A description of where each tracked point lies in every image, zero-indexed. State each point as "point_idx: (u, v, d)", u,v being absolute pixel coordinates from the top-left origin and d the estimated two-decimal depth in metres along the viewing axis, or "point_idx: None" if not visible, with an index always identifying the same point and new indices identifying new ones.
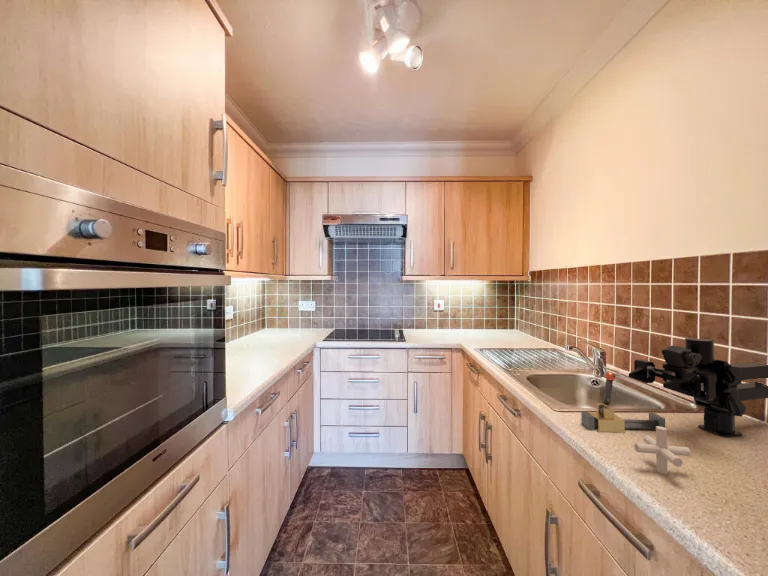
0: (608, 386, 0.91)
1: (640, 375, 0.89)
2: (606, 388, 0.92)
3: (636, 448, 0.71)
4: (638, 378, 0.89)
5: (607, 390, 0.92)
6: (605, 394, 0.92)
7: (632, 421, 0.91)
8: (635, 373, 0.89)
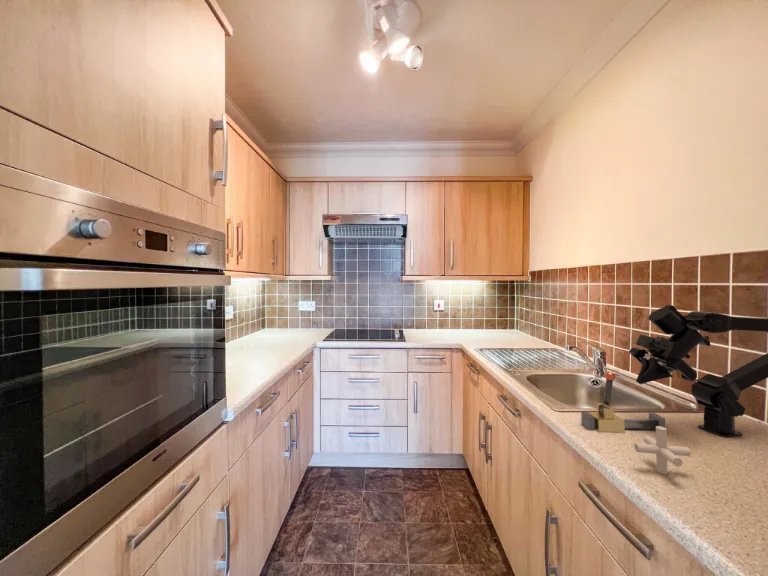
0: (608, 386, 0.91)
1: None
2: (606, 388, 0.92)
3: (636, 448, 0.71)
4: None
5: (607, 390, 0.92)
6: (605, 394, 0.92)
7: (632, 421, 0.91)
8: None
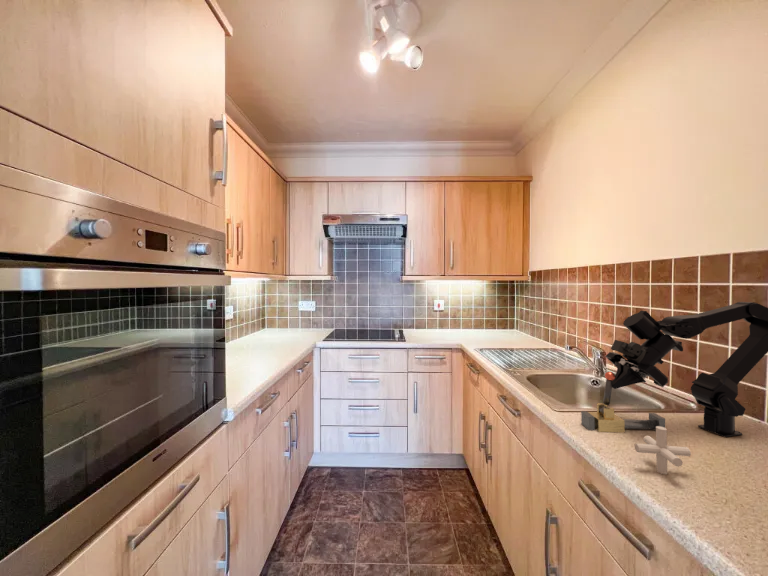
0: (608, 386, 0.91)
1: None
2: (606, 388, 0.92)
3: (636, 448, 0.71)
4: None
5: (607, 390, 0.92)
6: (605, 394, 0.92)
7: (632, 421, 0.91)
8: None
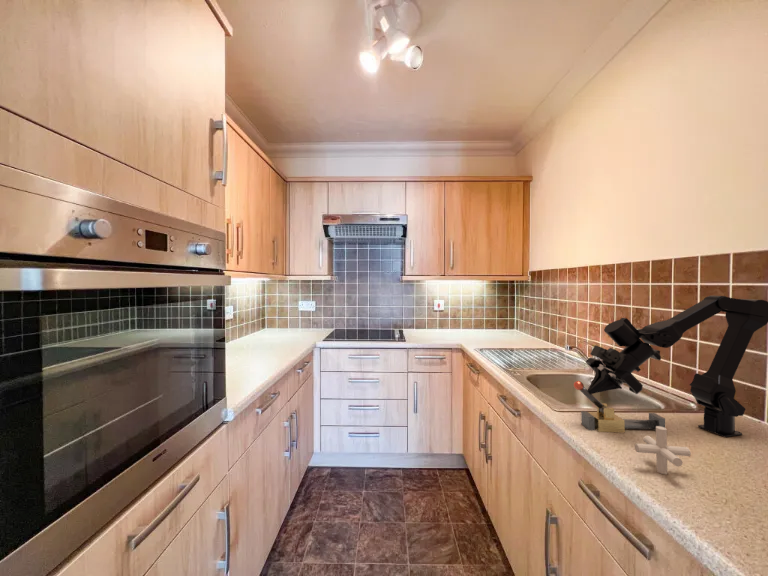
0: (586, 394, 0.92)
1: None
2: (586, 396, 0.92)
3: (636, 448, 0.71)
4: None
5: (589, 397, 0.92)
6: (591, 400, 0.92)
7: (632, 421, 0.91)
8: None
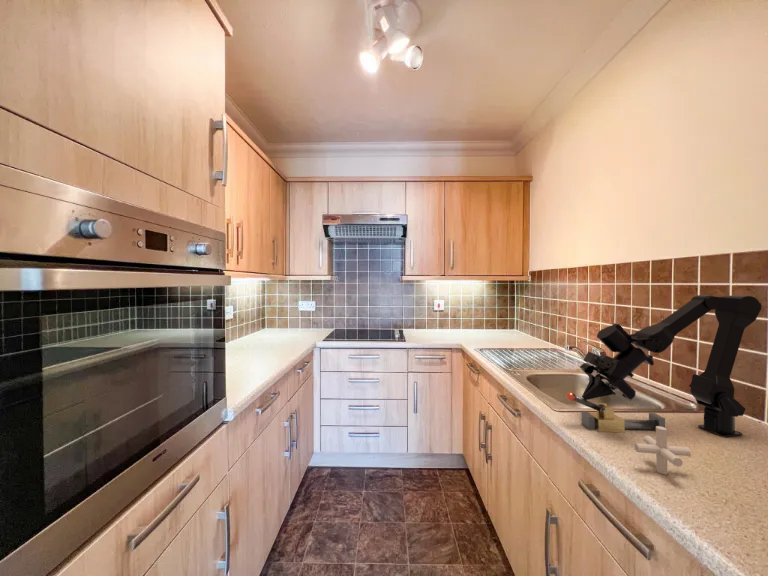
0: (581, 403, 0.92)
1: None
2: None
3: (636, 448, 0.71)
4: None
5: (584, 404, 0.92)
6: (588, 406, 0.92)
7: (632, 421, 0.91)
8: None
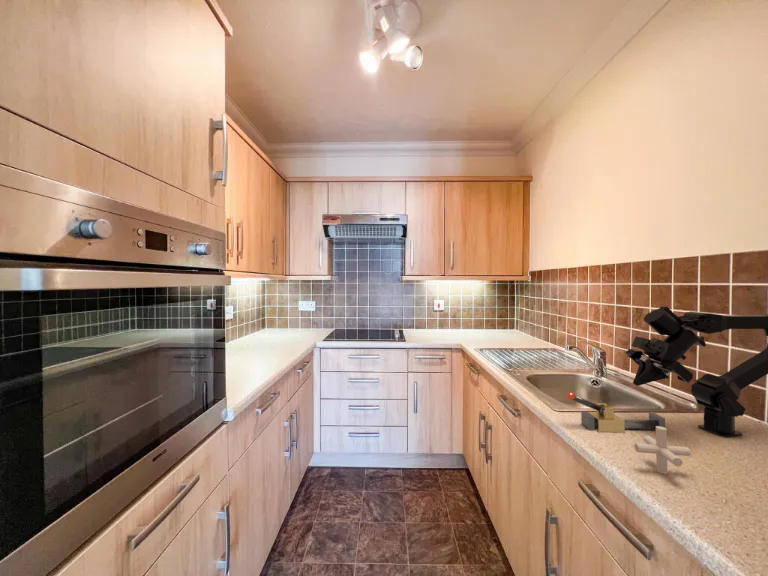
0: (581, 403, 0.92)
1: None
2: None
3: (636, 448, 0.71)
4: None
5: (584, 404, 0.92)
6: (588, 406, 0.92)
7: (632, 421, 0.91)
8: None
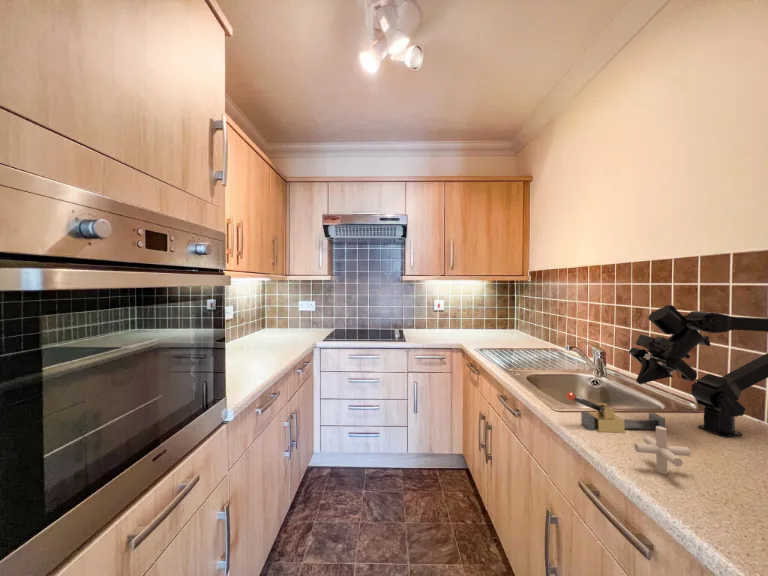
0: (581, 403, 0.92)
1: None
2: None
3: (636, 448, 0.71)
4: None
5: (584, 404, 0.92)
6: (588, 406, 0.92)
7: (632, 421, 0.91)
8: None
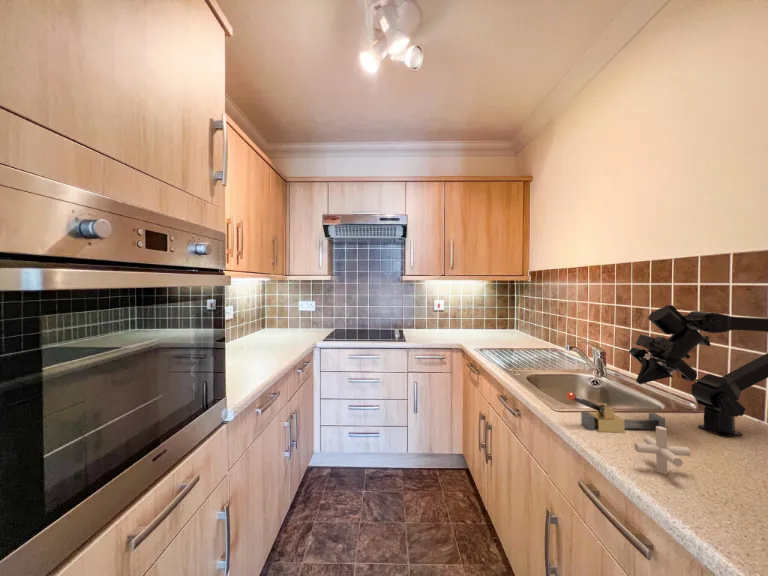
0: (581, 403, 0.92)
1: None
2: None
3: (636, 448, 0.71)
4: None
5: (584, 404, 0.92)
6: (588, 406, 0.92)
7: (632, 421, 0.91)
8: None
